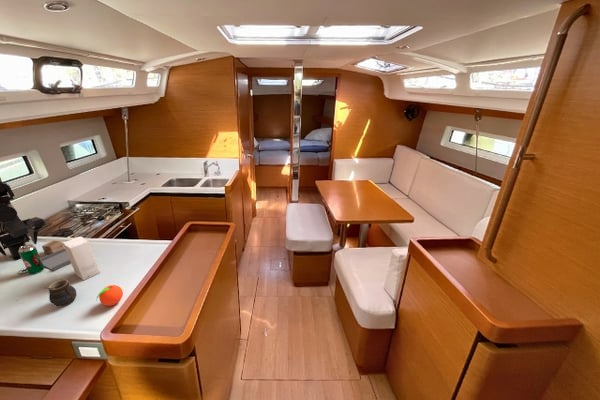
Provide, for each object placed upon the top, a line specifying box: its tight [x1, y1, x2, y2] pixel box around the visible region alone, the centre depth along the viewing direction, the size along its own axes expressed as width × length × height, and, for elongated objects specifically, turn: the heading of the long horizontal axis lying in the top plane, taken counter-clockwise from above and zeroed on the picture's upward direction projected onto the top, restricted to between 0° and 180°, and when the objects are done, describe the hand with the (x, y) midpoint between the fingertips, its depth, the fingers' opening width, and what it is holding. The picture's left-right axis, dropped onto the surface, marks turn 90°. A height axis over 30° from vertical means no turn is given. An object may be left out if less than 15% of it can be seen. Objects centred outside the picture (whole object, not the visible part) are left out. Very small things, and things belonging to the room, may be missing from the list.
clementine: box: [96, 284, 124, 307], centre depth 94 cm, size 8×7×7 cm
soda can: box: [18, 243, 45, 275], centre depth 111 cm, size 5×5×12 cm
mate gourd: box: [44, 279, 77, 307], centre depth 94 cm, size 7×8×10 cm
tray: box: [40, 248, 72, 272], centre depth 121 cm, size 14×13×2 cm
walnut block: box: [41, 240, 64, 256], centre depth 125 cm, size 5×5×5 cm
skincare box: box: [62, 235, 101, 281], centre depth 108 cm, size 8×7×16 cm
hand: (21, 249), depth 105 cm, fingers open, 9 cm apart
